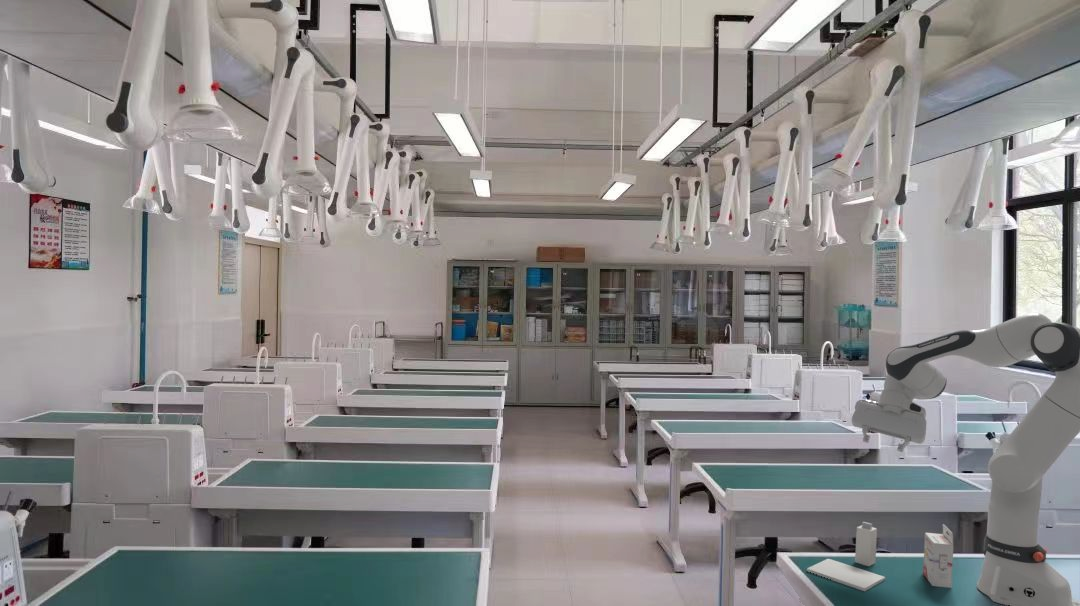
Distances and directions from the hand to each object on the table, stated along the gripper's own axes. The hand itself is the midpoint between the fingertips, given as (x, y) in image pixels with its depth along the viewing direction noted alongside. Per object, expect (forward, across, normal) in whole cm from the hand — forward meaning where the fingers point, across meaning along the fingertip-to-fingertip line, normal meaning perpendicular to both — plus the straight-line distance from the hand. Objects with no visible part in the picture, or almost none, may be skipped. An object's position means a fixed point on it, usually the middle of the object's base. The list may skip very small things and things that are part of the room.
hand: (882, 446), depth 215 cm
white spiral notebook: (+40, 0, +1) cm, 40 cm away
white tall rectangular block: (+32, +3, +12) cm, 34 cm away
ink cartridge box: (+31, +21, +8) cm, 38 cm away
